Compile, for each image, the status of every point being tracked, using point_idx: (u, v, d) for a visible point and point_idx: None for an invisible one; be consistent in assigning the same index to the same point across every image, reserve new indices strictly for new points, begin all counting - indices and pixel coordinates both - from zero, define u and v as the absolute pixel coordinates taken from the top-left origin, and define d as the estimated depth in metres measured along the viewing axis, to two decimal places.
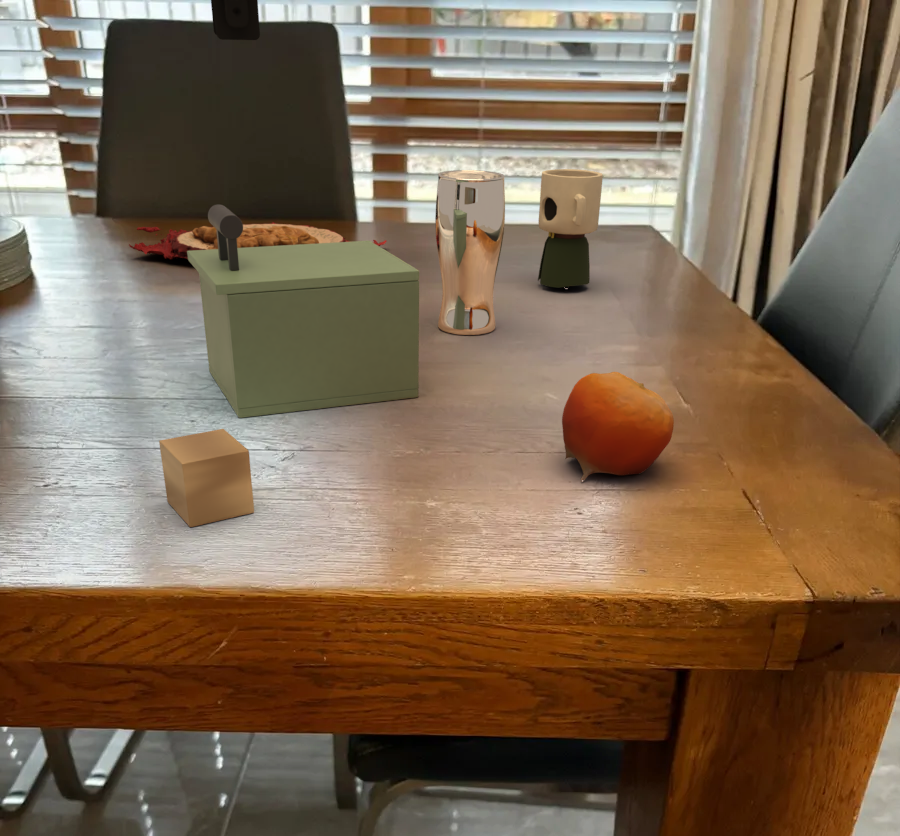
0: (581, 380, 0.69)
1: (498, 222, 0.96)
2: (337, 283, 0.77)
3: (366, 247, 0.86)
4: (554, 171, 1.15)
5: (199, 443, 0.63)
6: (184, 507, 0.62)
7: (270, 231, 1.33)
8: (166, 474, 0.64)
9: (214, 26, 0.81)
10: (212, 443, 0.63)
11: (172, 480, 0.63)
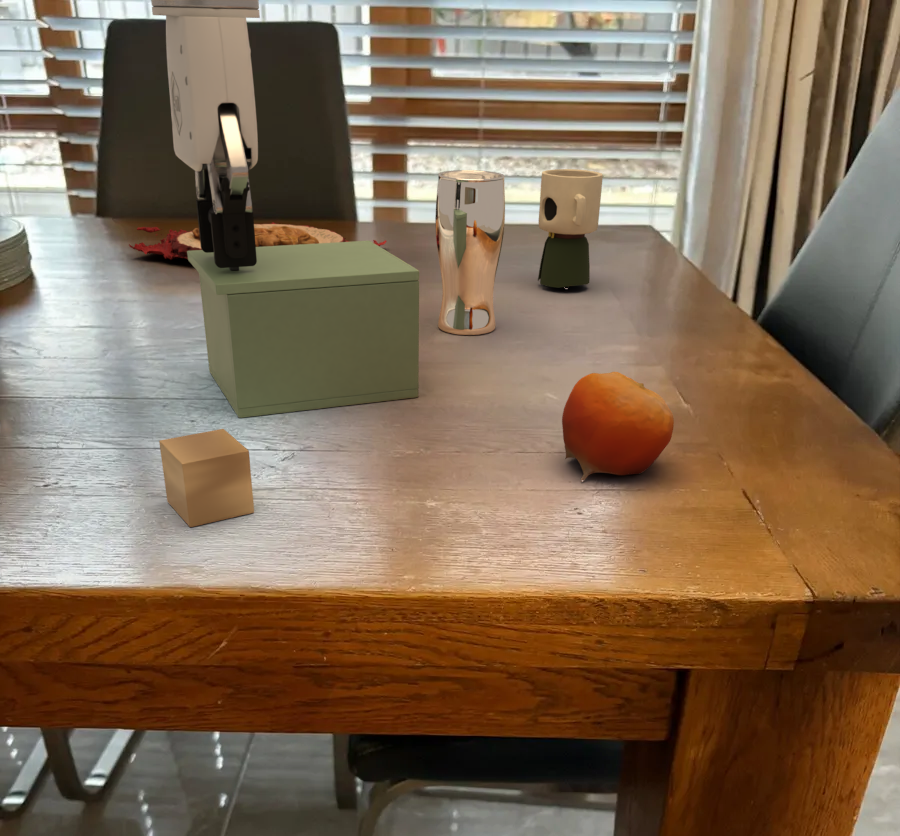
0: (581, 380, 0.69)
1: (498, 222, 0.96)
2: (337, 283, 0.77)
3: (366, 247, 0.86)
4: (554, 171, 1.15)
5: (199, 443, 0.63)
6: (184, 507, 0.62)
7: (270, 231, 1.33)
8: (166, 474, 0.64)
9: (202, 244, 0.80)
10: (212, 443, 0.63)
11: (172, 480, 0.63)
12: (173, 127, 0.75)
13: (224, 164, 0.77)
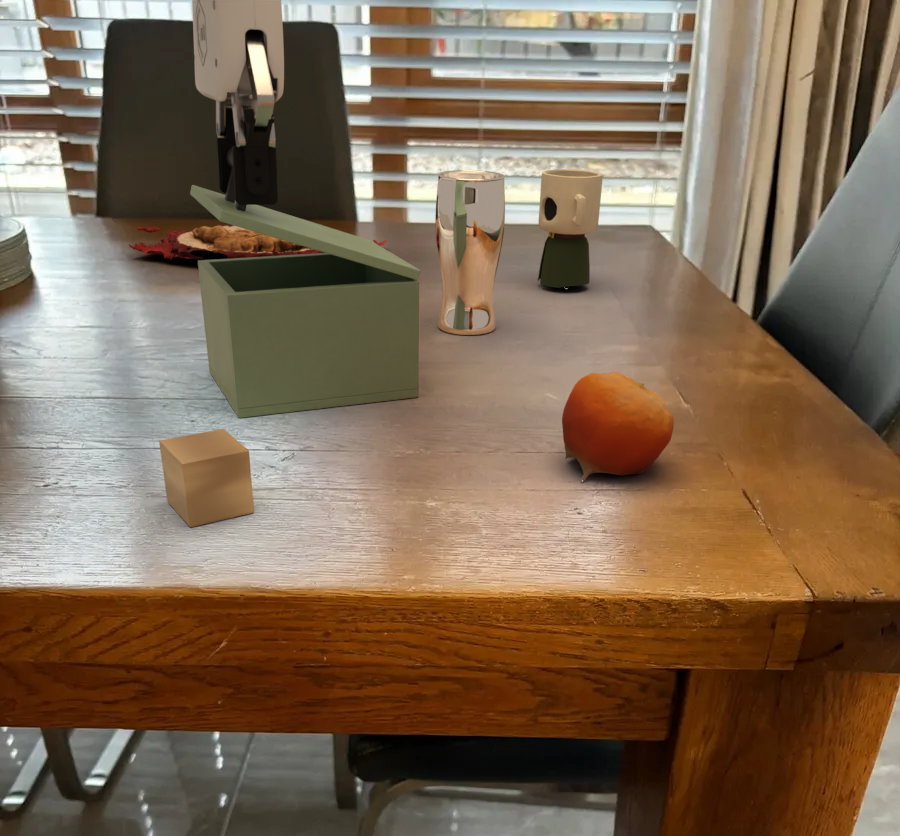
0: (581, 380, 0.69)
1: (498, 222, 0.96)
2: (340, 254, 0.76)
3: (368, 242, 0.86)
4: (554, 171, 1.15)
5: (199, 443, 0.63)
6: (184, 507, 0.62)
7: None
8: (166, 474, 0.64)
9: (221, 184, 0.78)
10: (212, 443, 0.63)
11: (172, 480, 0.63)
12: (196, 60, 0.74)
13: None
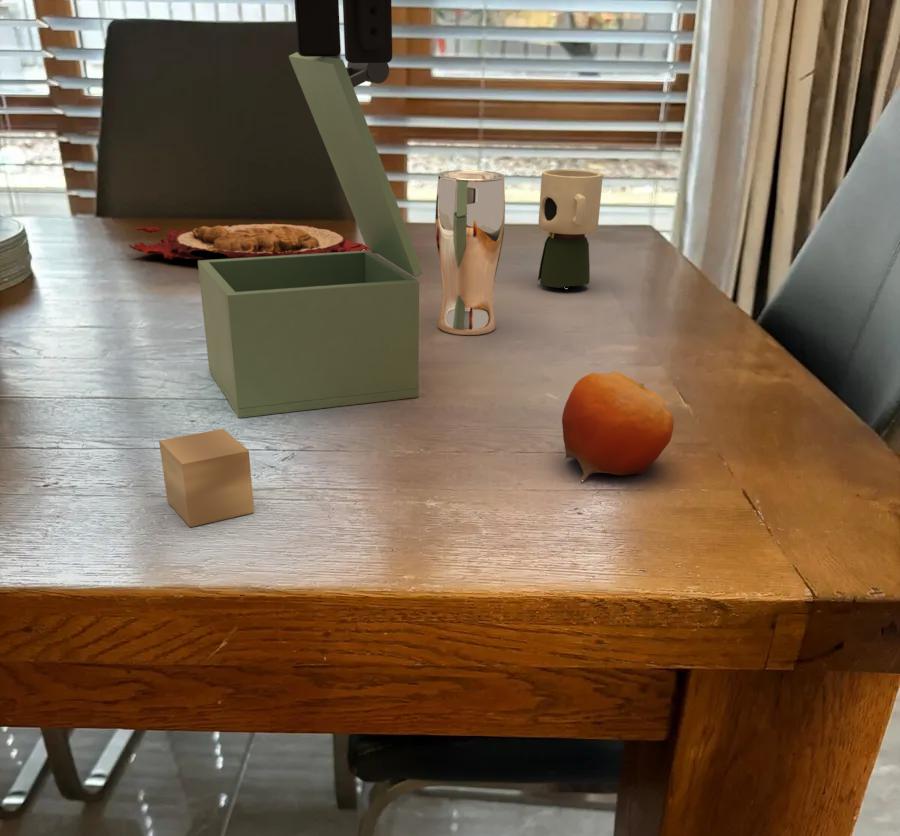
0: (581, 380, 0.69)
1: (498, 222, 0.96)
2: (385, 193, 0.75)
3: None
4: (554, 171, 1.15)
5: (199, 443, 0.63)
6: (184, 507, 0.62)
7: (270, 231, 1.33)
8: (166, 474, 0.64)
9: (300, 46, 0.72)
10: (212, 443, 0.63)
11: (172, 480, 0.63)
12: None
13: None
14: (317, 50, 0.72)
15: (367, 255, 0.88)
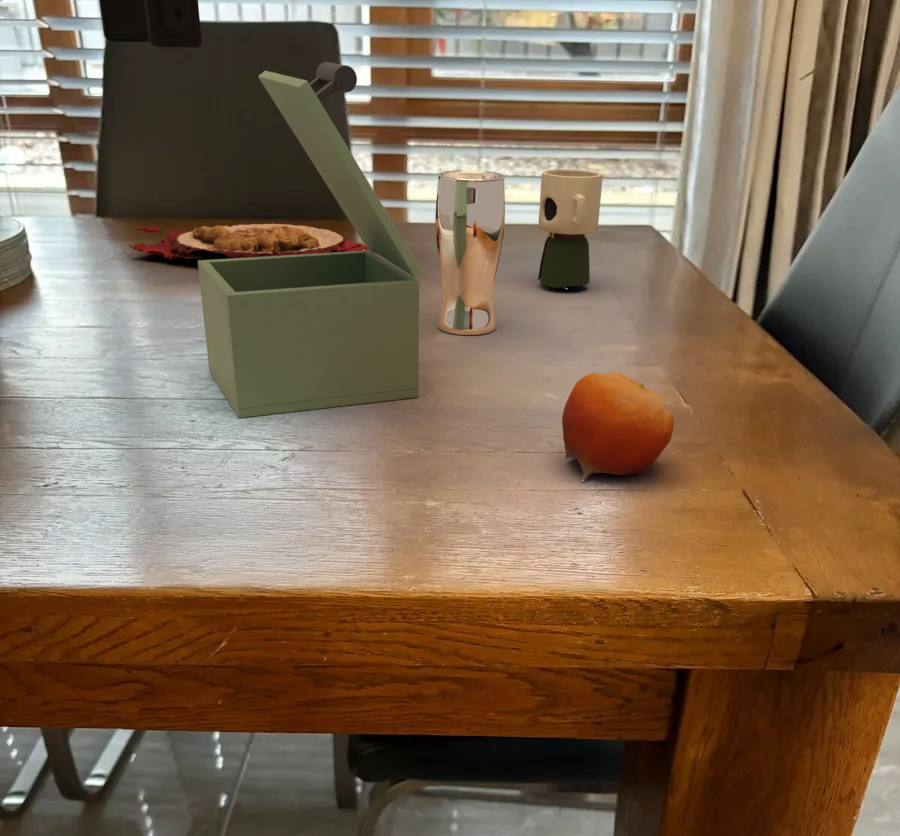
0: (581, 380, 0.69)
1: (498, 222, 0.96)
2: (372, 202, 0.75)
3: None
4: (554, 171, 1.15)
5: None
6: None
7: (270, 231, 1.33)
8: None
9: (106, 30, 0.67)
10: None
11: None
12: None
13: None
14: (125, 35, 0.67)
15: (367, 255, 0.88)
